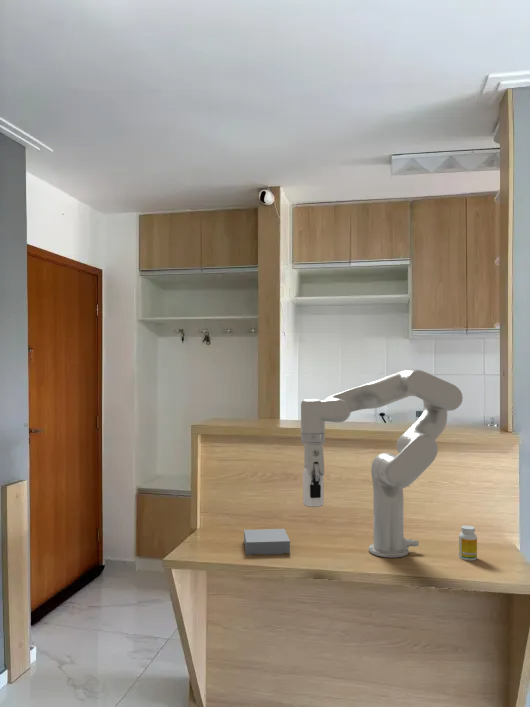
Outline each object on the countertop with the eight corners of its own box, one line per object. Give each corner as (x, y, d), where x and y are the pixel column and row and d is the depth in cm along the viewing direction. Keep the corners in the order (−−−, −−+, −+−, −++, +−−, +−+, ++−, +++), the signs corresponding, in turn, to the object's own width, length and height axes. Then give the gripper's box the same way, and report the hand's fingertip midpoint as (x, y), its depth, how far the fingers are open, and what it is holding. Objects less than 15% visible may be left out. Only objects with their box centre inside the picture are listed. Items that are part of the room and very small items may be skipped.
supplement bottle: (455, 556, 183) (455, 525, 183) (470, 554, 184) (470, 524, 184) (465, 561, 177) (465, 530, 177) (480, 560, 179) (480, 528, 179)
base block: (284, 540, 199) (284, 528, 199) (290, 553, 185) (290, 541, 185) (243, 541, 197) (243, 529, 197) (246, 555, 183) (246, 542, 183)
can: (322, 507, 179) (322, 468, 179) (301, 506, 180) (301, 468, 180) (324, 502, 185) (324, 465, 185) (304, 501, 186) (304, 464, 187)
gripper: (330, 441, 175) (330, 501, 174) (319, 434, 192) (320, 488, 192) (305, 442, 174) (306, 501, 174) (297, 435, 191) (297, 489, 191)
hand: (313, 494), depth 183 cm, fingers closed on can, 6 cm apart
